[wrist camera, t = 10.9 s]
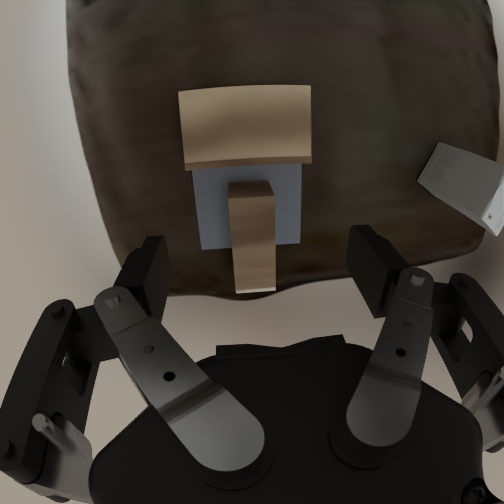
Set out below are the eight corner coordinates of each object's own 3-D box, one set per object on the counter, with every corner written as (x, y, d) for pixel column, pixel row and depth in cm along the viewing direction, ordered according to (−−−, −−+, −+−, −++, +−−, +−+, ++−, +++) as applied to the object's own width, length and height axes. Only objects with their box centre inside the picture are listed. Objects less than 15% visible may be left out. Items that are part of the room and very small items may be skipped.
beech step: (185, 92, 25) (177, 91, 21) (300, 86, 25) (311, 85, 22) (191, 160, 28) (185, 170, 25) (301, 154, 29) (311, 163, 25)
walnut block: (228, 198, 25) (236, 293, 30) (274, 195, 25) (275, 290, 30) (228, 182, 29) (235, 266, 34) (268, 180, 30) (269, 264, 35)
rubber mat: (191, 160, 28) (190, 161, 28) (301, 154, 29) (301, 154, 29) (201, 248, 33) (201, 249, 33) (299, 241, 34) (299, 243, 33)
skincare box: (435, 196, 32) (497, 241, 21) (413, 179, 31) (479, 222, 20) (457, 158, 29) (525, 191, 19) (437, 137, 28) (509, 166, 18)
